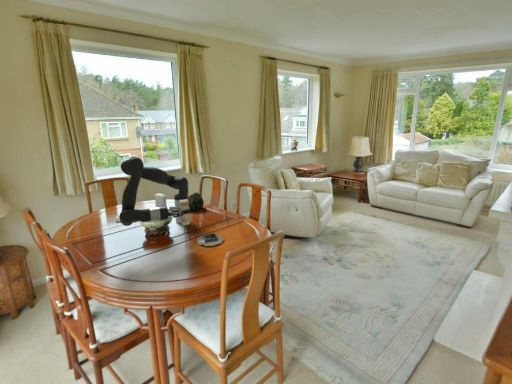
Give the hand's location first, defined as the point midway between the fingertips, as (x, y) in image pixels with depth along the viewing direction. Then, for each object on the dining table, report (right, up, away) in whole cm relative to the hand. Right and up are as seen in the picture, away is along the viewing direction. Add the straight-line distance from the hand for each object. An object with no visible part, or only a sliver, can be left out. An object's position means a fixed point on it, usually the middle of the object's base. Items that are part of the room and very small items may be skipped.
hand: (189, 210), depth 170 cm
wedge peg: (-2, -8, +1) cm, 8 cm away
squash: (-12, -4, +72) cm, 73 cm away
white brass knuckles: (-55, -11, +48) cm, 74 cm away
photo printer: (-41, -3, +75) cm, 85 cm away
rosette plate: (+11, -20, +10) cm, 25 cm away
